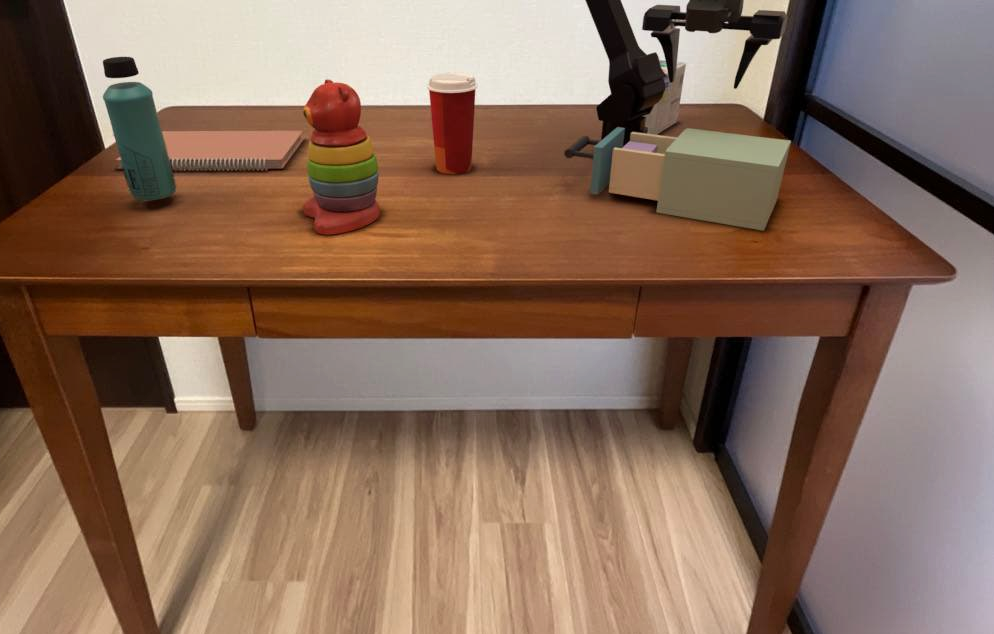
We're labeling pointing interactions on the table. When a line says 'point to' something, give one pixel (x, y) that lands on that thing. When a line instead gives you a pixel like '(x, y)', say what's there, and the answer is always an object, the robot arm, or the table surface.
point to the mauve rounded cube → (641, 147)
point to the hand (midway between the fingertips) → (703, 85)
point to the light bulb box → (667, 102)
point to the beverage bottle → (137, 133)
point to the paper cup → (452, 120)
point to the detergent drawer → (624, 163)
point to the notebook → (229, 149)
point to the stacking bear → (339, 162)
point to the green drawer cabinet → (722, 177)
